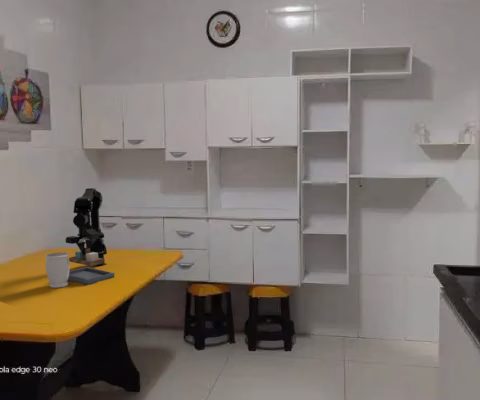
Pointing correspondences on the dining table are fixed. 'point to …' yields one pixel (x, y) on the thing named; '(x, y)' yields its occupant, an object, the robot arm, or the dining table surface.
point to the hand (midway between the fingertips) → (86, 254)
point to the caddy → (84, 262)
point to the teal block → (78, 255)
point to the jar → (57, 269)
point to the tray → (89, 275)
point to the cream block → (91, 256)
